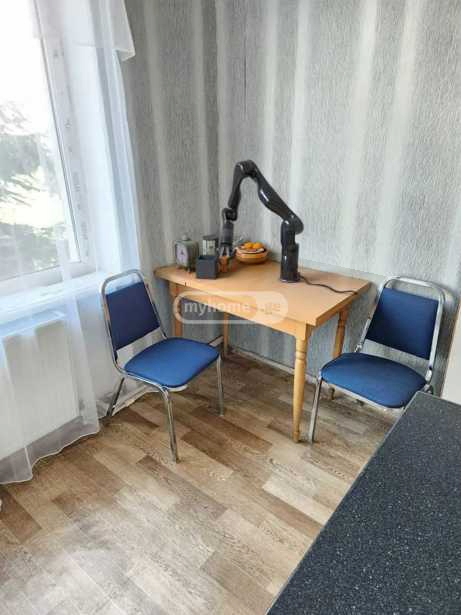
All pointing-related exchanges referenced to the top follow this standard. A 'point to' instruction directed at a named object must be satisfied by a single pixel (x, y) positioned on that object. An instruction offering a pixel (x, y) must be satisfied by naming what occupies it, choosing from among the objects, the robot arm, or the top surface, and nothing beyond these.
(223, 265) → the packet
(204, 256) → the bin
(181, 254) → the tabletop clock
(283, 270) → the robot arm
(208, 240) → the lantern
